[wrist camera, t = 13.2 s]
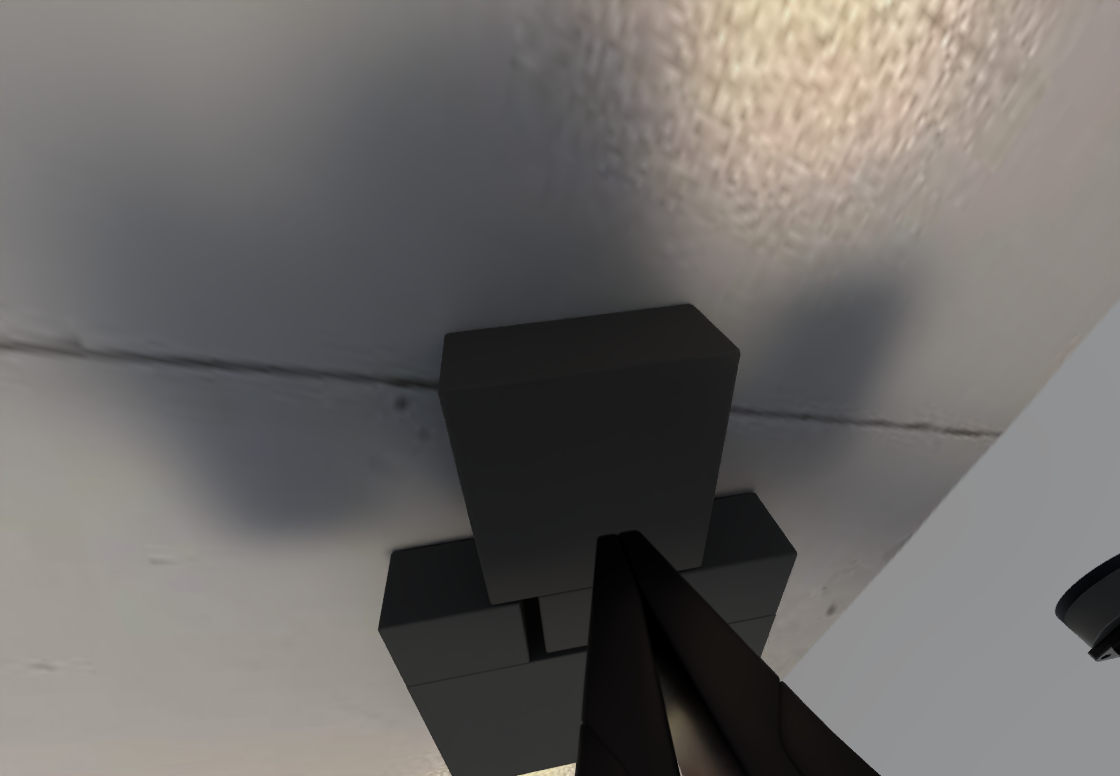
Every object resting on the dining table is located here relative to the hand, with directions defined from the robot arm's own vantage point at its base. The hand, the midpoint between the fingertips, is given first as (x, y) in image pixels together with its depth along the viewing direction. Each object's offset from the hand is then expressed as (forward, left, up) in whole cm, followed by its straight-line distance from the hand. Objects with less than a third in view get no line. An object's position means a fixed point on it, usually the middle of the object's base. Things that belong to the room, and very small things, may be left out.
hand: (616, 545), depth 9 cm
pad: (0, +2, -4) cm, 4 cm away
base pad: (0, +10, -4) cm, 11 cm away
